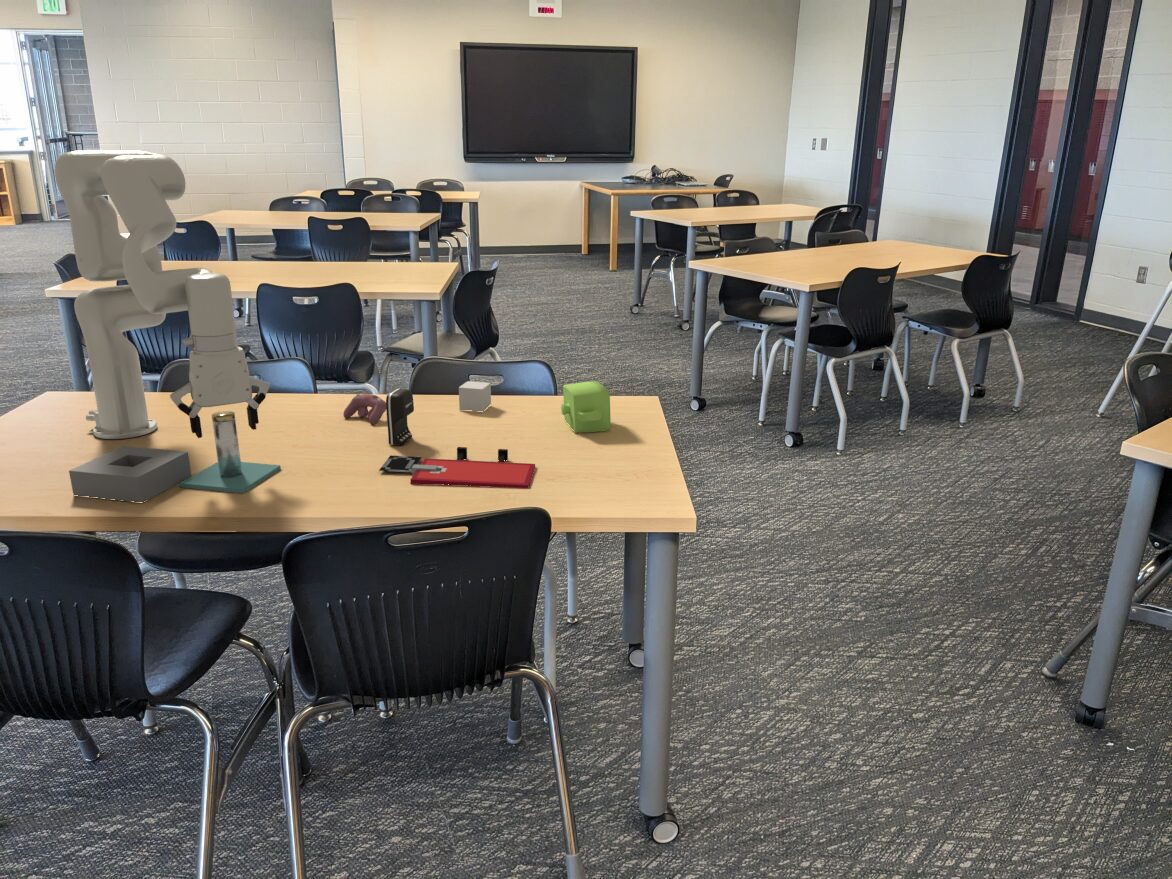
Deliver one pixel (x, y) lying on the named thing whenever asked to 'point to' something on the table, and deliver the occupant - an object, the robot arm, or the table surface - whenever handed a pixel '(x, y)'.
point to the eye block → (130, 473)
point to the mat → (238, 484)
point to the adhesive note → (474, 396)
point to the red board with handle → (463, 470)
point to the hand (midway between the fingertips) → (226, 431)
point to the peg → (227, 444)
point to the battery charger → (399, 415)
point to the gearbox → (587, 407)
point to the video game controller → (361, 405)
